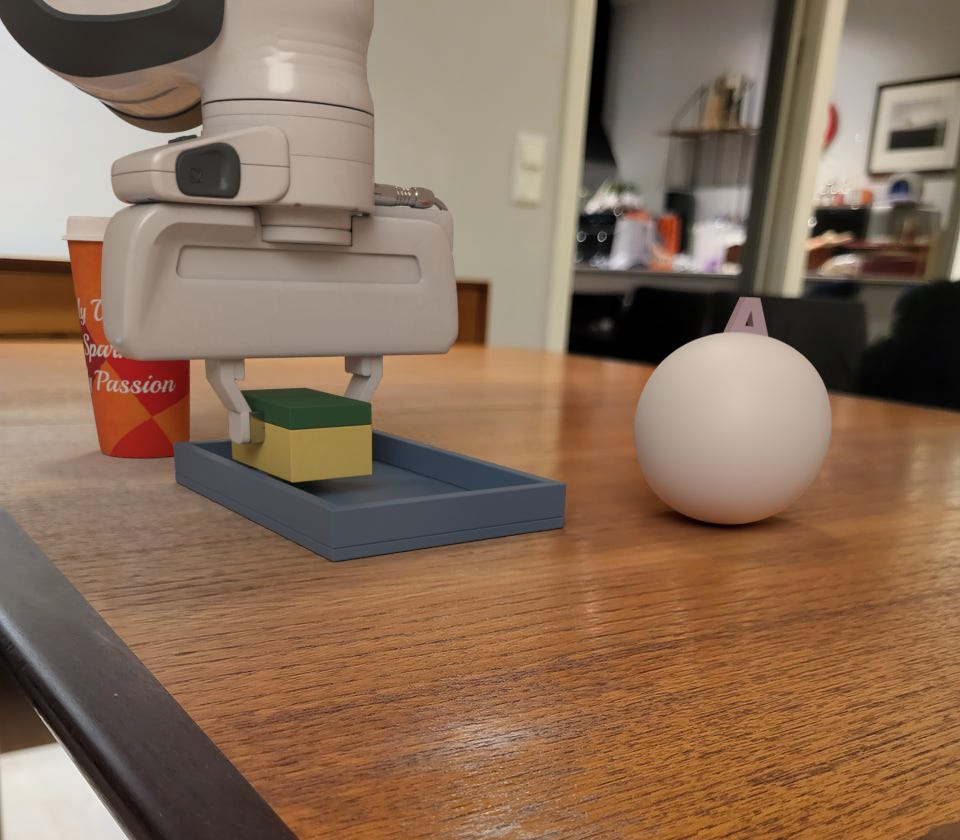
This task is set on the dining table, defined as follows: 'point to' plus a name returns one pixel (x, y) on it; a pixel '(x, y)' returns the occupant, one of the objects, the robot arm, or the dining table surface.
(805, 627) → the dining table surface
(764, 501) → the ornament
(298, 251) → the robot arm
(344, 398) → the sponge
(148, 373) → the coffee cup
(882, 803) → the dining table surface
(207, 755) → the dining table surface
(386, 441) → the tray
